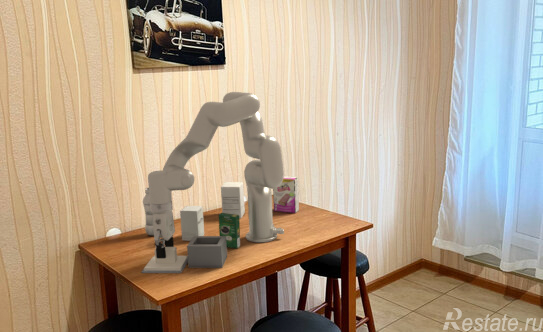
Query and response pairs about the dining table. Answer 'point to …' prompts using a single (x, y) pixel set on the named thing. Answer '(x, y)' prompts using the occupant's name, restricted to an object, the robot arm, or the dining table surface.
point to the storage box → (207, 252)
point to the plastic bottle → (148, 213)
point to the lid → (167, 261)
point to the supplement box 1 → (192, 222)
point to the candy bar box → (287, 195)
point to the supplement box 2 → (233, 198)
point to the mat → (166, 271)
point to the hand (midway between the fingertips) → (165, 252)
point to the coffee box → (230, 229)
